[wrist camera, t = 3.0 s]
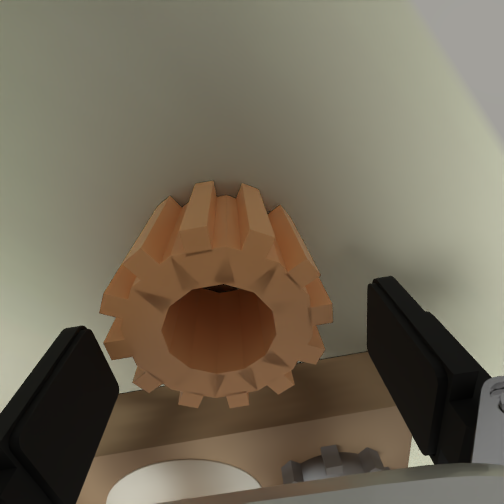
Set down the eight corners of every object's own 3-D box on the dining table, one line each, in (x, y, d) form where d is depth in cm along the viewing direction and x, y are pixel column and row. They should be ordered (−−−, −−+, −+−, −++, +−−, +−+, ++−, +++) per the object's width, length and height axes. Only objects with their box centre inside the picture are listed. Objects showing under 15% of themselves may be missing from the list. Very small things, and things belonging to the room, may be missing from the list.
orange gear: (116, 197, 13) (58, 251, 8) (292, 166, 13) (328, 205, 8) (165, 333, 16) (143, 423, 12) (305, 309, 16) (336, 390, 12)
